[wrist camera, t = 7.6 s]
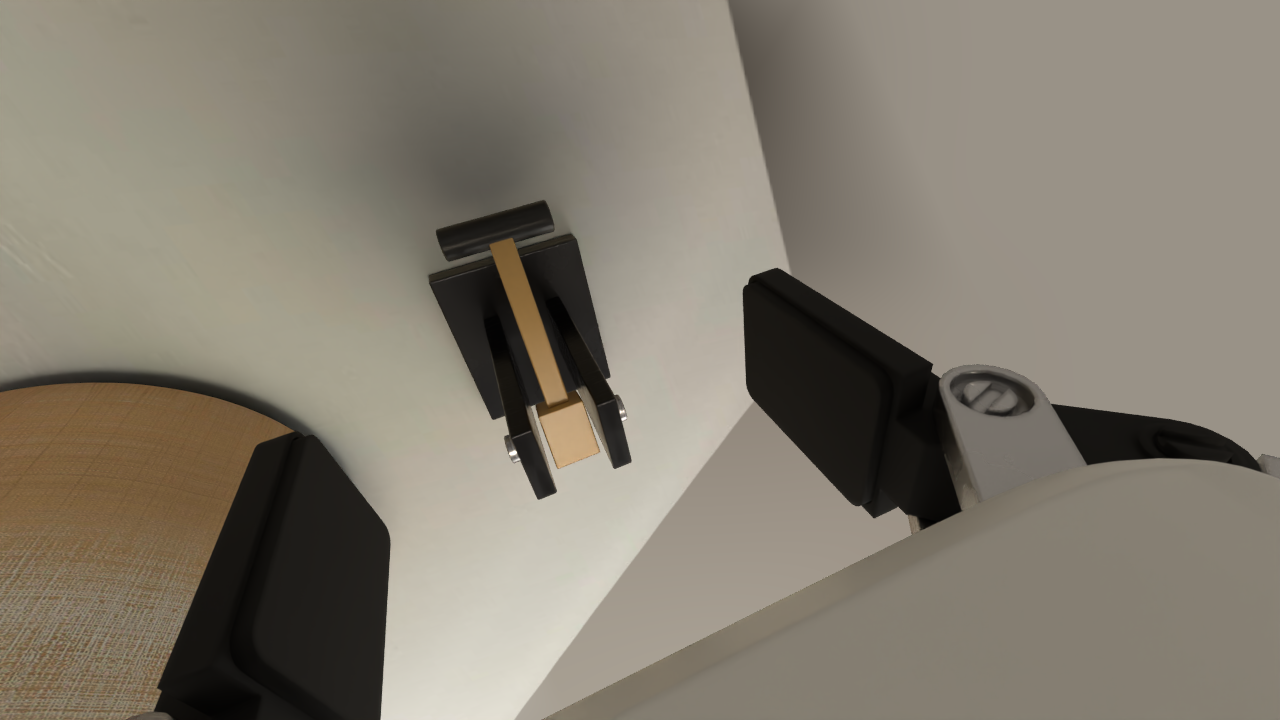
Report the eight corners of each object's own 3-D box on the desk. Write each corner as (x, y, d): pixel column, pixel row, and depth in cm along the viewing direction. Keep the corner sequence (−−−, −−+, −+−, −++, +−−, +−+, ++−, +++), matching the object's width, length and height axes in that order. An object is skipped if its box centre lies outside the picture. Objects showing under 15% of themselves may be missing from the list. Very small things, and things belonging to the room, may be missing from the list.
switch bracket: (428, 275, 29) (433, 397, 19) (572, 232, 31) (645, 324, 21) (490, 410, 35) (518, 555, 25) (606, 369, 37) (675, 489, 27)
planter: (411, 542, 39) (406, 878, 23) (101, 671, 35) (-158, 1185, 19) (225, 309, 26) (-70, 714, 10) (-306, 471, 22) (-2165, 1567, 6)
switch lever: (438, 232, 23) (431, 227, 20) (542, 203, 24) (546, 195, 21) (527, 462, 25) (529, 480, 23) (616, 428, 26) (626, 442, 24)
